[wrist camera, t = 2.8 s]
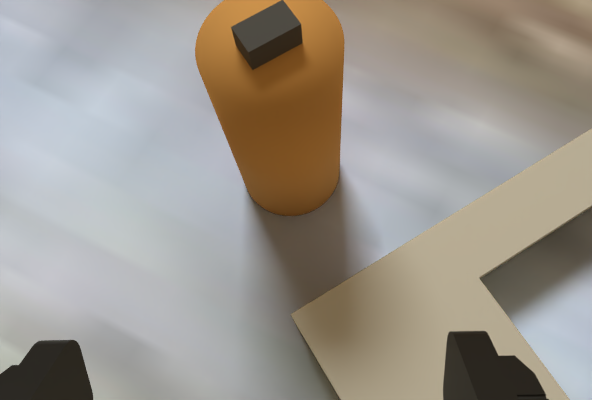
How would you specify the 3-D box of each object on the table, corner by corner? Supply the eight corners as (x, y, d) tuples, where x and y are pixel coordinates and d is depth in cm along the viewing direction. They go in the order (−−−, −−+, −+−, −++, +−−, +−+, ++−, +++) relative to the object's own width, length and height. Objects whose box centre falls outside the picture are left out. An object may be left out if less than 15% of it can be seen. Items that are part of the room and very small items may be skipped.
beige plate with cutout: (460, 603, 21) (483, 640, 18) (294, 321, 26) (288, 310, 22) (849, 317, 24) (930, 305, 21) (640, 106, 29) (681, 69, 25)
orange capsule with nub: (274, 233, 27) (234, 122, 16) (227, 157, 29) (161, 8, 18) (358, 184, 28) (376, 43, 17) (307, 112, 30) (293, -59, 18)
